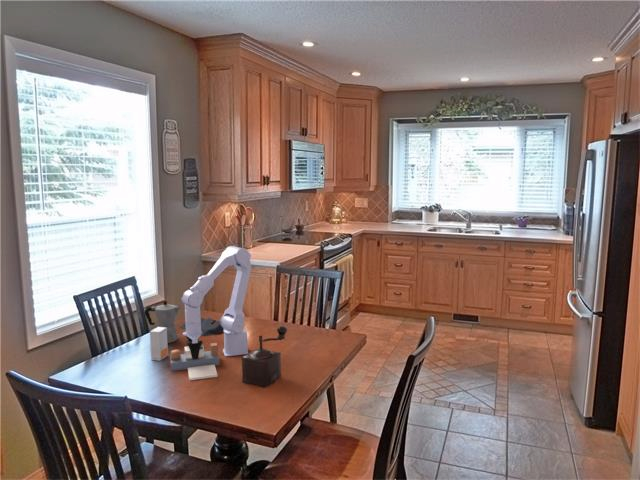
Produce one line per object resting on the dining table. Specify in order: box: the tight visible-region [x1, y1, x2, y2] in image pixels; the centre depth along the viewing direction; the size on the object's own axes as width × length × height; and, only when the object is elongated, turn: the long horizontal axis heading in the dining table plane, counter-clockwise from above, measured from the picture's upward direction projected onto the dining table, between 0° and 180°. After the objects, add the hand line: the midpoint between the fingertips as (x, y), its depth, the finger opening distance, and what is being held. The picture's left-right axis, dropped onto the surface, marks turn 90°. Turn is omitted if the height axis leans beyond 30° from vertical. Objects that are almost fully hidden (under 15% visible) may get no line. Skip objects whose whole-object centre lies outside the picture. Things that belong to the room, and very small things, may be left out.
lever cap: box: [184, 344, 205, 360], centre depth 189 cm, size 7×5×4 cm
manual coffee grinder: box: [241, 325, 288, 388], centre depth 176 cm, size 16×11×18 cm
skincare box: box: [149, 326, 169, 362], centre depth 195 cm, size 6×4×12 cm
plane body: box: [169, 342, 221, 372], centre depth 189 cm, size 18×8×7 cm, turn 108°
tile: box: [187, 364, 218, 381], centre depth 181 cm, size 10×10×1 cm
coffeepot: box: [143, 300, 182, 344], centre depth 215 cm, size 15×9×18 cm, turn 103°
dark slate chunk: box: [179, 317, 224, 337], centre depth 232 cm, size 15×22×5 cm
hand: (194, 355), depth 189 cm, fingers open, 7 cm apart
